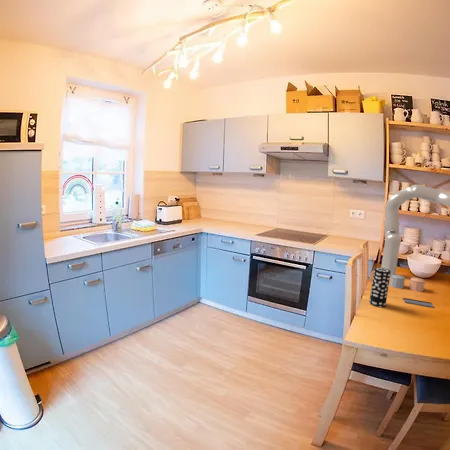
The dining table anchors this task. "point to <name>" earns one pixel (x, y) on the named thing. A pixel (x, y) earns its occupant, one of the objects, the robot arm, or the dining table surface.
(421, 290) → the peach rounded capsule
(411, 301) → the mat
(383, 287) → the spotted tube
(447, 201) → the robot arm
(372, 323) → the dining table surface
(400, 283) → the grey cup
